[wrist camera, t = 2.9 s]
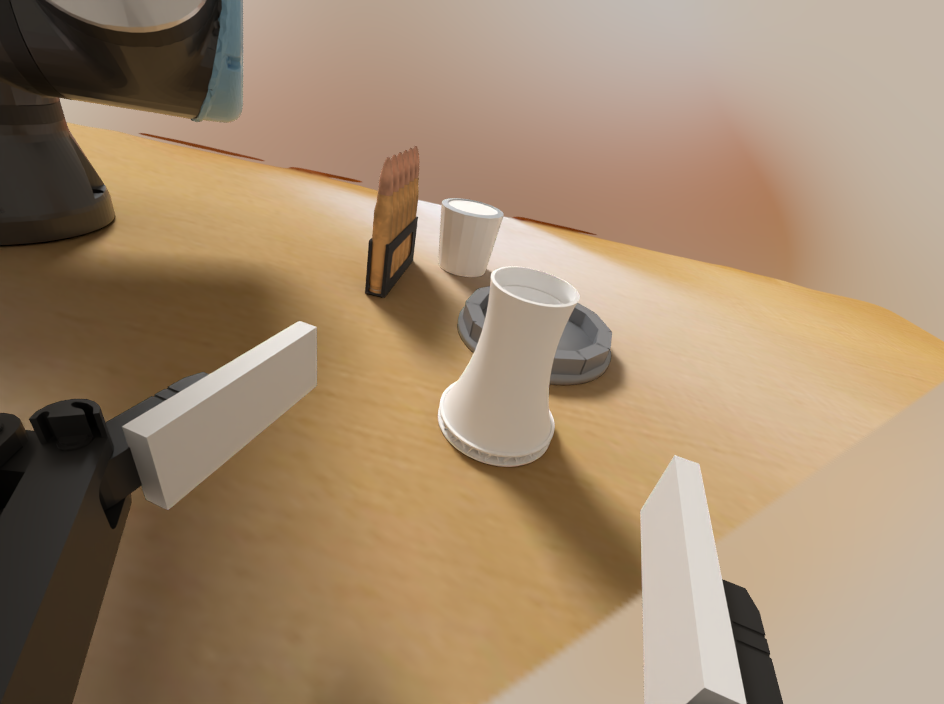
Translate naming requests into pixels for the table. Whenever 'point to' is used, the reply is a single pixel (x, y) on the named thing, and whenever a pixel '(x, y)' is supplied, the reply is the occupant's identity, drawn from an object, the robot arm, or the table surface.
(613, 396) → the table surface
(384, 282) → the ammunition clip
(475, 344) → the socket ring
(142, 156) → the table surface
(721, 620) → the robot arm
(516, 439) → the vase
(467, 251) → the shot glass
